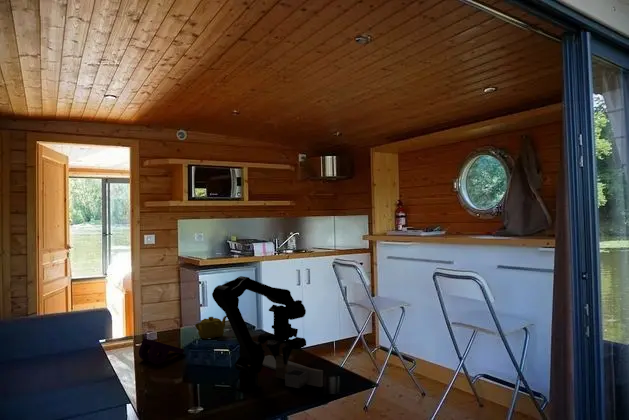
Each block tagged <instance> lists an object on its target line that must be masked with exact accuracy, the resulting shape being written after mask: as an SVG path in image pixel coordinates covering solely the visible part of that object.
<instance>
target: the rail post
mask: <svg viewBox="0 0 629 420" xmlns="http://www.w3.org/2000/svg"><path fill="white" fill-rule="evenodd" d="M286 373H288V362H287V364H286V365H285V364H284V359H283V353H279V355H277V356H276V370H275V378H277V379H282V380H285V374H286Z"/></svg>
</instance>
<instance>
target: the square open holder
mask: <svg viewBox="0 0 629 420" xmlns="http://www.w3.org/2000/svg"><path fill="white" fill-rule="evenodd" d="M307 383H308V372H307V370H302V369H301V370H297V369H293V370H291V371H289V372H288V373H286V374H285V378H284V386H285V387H291V388H295V389H301V388H302V387H304V386H305V385H307Z"/></svg>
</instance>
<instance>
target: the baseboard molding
mask: <svg viewBox="0 0 629 420" xmlns="http://www.w3.org/2000/svg"><path fill="white" fill-rule="evenodd" d="M264 356H265V358H264V361H263V366H262V367H266V368H268V369H271V370H274V371H276V360H275V358H274V356H273V355H270V354H268V355H264ZM290 364H291V365H297V366H302V367H307V368H310V367H308V366H305V365H302V364H300V363H296V362H293V361H290V360H288V365H290ZM325 373H326V369H323V374H325Z"/></svg>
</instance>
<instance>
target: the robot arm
mask: <svg viewBox="0 0 629 420" xmlns="http://www.w3.org/2000/svg"><path fill="white" fill-rule="evenodd" d="M246 290H248V291H249V292H251V293H252V292H253V293H255V294H258V295H261V296H263V297H265V298H266V299H267V300H269V301H270V302H272V303H273V304H272V306H271V307H269V309H268V312H271V313H273V324H272V325H271V329H273V332H272V333H271V332H264V333H262V334H259V335H258V336H257V341H255V340H253V338H252V336H251V333H250V330H249V329H248V327H247V325H246V322H245V319H244V317H243V315H242V313H241V311H240V308H239V303H240V300H239V297H241V296H242V295H243V294H244V293H245V292H246ZM211 295H212V298H213V301H214V302H215V303H216V305H217V306H218V307H219V308H220V309H221V310H222V311H223V312H224V313H225V316H227V317H226V319H227V321H229V322H228V323H229V324H230V327H231V329H232V331H233V333H234V336H235V338H236V340H237V342H238V345H239V351H238V353H239V357H238V358H237V360H236V361H235V363H234V367H235V368H234V369H235V370H237V371H239V372H238V373H239V374H238V376H239V377H238V383H239V384H238V386H237V387H236V388H235V390H236V391H240V392H243V393H249V394H250V393H253V392H254V391H256V390H258V389H260V388H261V387H262V385H260V384H258V383H259V379H258V378H259V376H258V375H259V374H258V373H261V372H262V368H263V366H262V365H263V361H264V358H265V356H266V355H265V353H266V351H265V350H264V349H263V346H262V344H263V345H265V343H266V342H267V344H266V347H267V348H268V349H269V350H270V353H271V354H272V356H274V358H275V360H276V356H277V355H279V354H280V346H281V344H285V345H284V346H283V347H282V348H281V350H282V354H283V359H284V364H285V365H286V364H287V362H288V361H289V359H290V356H291V353H292V351H293V349H294V350H300V349H302V348H304V347H306V346H307V340H306V338H305V337H299V336H298V332H299V331H298V330H299V329H298V328H295V327H292V324H291V323H290V321H289V320H291V321H292V320H297V319H301V318H305V315H306V312H307V311H306V308H305V305H304V304H303V301H302V300H300V299H296V300H295V299H294V298H293V296H292V293H291V291H290V290H289V289H287V288H280V287H273V286H270V285H267V284H265V283H263V282H259V281H257V280H254V279H252V278H250V277H248V276H242V275H241V276H238V277H236V278H235V279H232V280H230V281H227V282H225V283H223V284H219V285H217V286H216V287H214V289H213V291H212V293H211ZM277 304H278V305H277Z"/></svg>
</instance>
